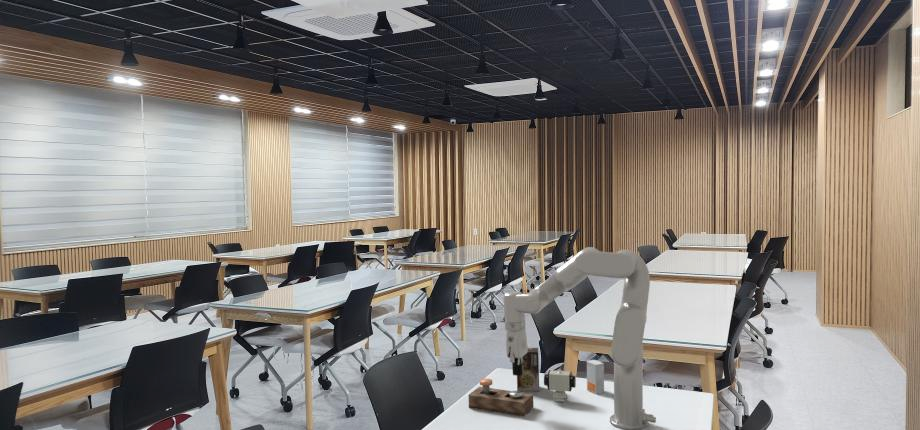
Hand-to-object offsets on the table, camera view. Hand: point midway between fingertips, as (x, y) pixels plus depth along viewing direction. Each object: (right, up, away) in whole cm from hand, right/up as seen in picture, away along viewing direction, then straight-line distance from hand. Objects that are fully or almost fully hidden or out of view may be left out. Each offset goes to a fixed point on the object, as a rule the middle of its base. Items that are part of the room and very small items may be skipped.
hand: (517, 374), depth 222 cm
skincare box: (+33, -12, +19) cm, 40 cm away
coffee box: (+7, -12, +24) cm, 28 cm away
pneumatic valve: (+17, -13, +10) cm, 24 cm away
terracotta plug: (-11, -9, +6) cm, 16 cm away
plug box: (-6, -13, +4) cm, 15 cm away
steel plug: (-1, -12, +1) cm, 12 cm away
